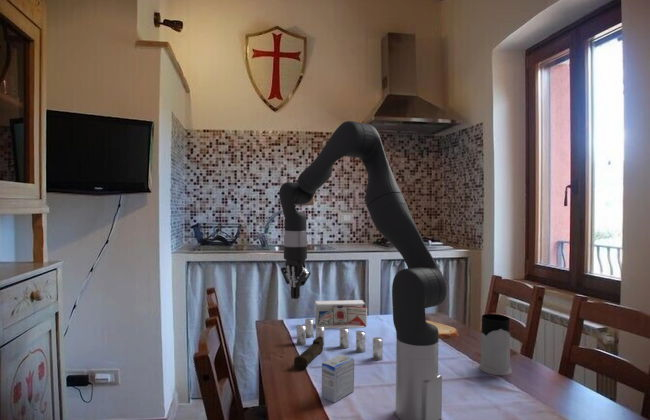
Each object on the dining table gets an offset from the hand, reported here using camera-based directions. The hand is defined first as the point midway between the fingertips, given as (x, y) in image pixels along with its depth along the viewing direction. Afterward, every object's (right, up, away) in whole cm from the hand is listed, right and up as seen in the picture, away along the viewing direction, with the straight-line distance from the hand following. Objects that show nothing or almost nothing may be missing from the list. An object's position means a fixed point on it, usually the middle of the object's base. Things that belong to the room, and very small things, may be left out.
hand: (295, 298), depth 132 cm
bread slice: (+48, -18, +22) cm, 56 cm away
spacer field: (+13, -17, +3) cm, 21 cm away
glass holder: (+59, -18, -11) cm, 62 cm away
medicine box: (+13, -18, -30) cm, 37 cm away
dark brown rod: (+5, -18, -6) cm, 19 cm away
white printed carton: (+16, -17, +28) cm, 37 cm away
